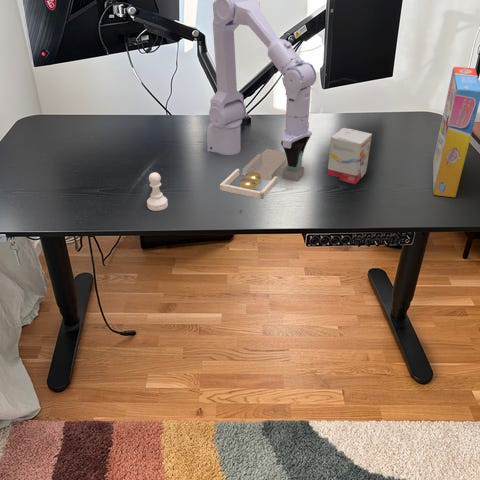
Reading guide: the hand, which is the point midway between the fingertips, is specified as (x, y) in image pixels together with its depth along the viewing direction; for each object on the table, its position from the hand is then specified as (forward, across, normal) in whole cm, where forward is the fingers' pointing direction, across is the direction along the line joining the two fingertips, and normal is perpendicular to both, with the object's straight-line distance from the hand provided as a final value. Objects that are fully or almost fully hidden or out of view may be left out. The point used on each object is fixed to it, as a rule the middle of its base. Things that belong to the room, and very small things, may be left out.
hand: (294, 163), depth 138 cm
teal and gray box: (+4, 0, 0) cm, 4 cm away
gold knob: (+4, -8, +9) cm, 12 cm away
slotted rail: (+4, +4, +9) cm, 10 cm away
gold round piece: (+4, -12, +8) cm, 15 cm away
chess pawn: (+5, -28, +26) cm, 38 cm away
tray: (+4, -10, +8) cm, 14 cm away
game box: (+5, +16, -37) cm, 40 cm away
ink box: (+5, +8, -12) cm, 16 cm away
